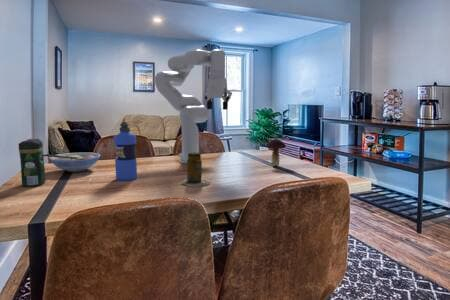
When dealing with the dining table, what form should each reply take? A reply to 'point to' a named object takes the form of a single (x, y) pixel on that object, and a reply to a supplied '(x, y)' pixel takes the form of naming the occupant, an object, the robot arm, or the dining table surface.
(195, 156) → the condiment
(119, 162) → the water bottle
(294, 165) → the dining table surface
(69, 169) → the ramen bowl
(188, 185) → the coaster
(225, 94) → the robot arm
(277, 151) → the decorative mushroom
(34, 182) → the coffee jar
